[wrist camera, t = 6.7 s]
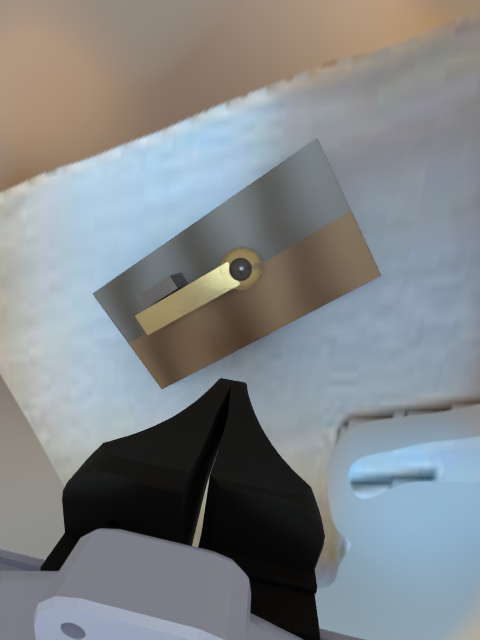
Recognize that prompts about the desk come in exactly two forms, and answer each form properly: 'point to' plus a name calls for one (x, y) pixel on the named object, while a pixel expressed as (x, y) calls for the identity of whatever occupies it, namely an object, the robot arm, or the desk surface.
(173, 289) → the block
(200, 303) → the lock bar
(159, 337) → the board
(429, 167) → the desk surface
